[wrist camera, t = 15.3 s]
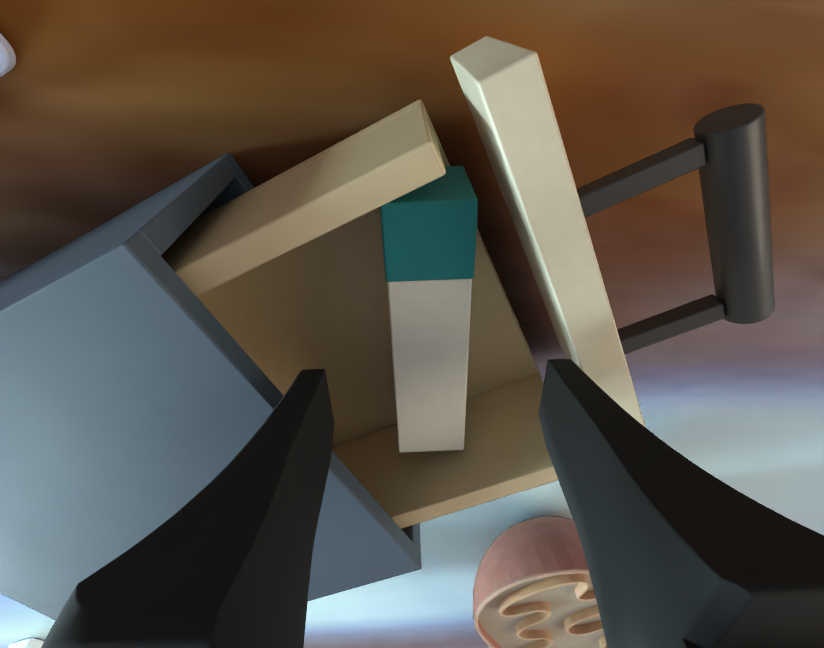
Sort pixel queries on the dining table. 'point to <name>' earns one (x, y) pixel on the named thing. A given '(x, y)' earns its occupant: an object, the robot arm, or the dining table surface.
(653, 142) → the dining table surface
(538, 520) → the anatomical model
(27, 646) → the white bottle
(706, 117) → the drawer
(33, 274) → the cabinet
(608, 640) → the robot arm
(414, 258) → the teal-capped white post
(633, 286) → the dining table surface
